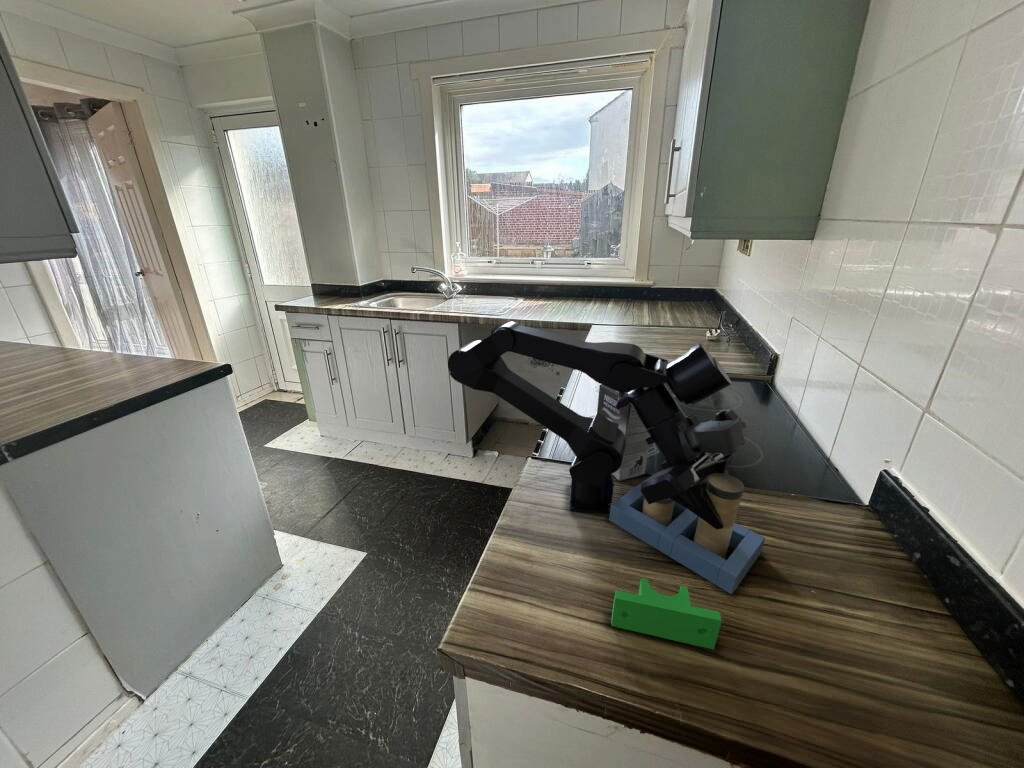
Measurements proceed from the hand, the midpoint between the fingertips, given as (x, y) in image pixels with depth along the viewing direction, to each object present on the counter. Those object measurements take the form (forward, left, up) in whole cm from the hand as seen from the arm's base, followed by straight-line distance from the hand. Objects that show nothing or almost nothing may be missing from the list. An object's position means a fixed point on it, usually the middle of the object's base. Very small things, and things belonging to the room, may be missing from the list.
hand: (727, 520), depth 55 cm
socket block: (-4, +4, -7) cm, 9 cm away
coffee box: (-12, +22, -7) cm, 26 cm away
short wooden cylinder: (-8, +6, -7) cm, 12 cm away
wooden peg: (-1, +1, -7) cm, 7 cm away
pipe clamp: (-10, -12, -7) cm, 17 cm away
